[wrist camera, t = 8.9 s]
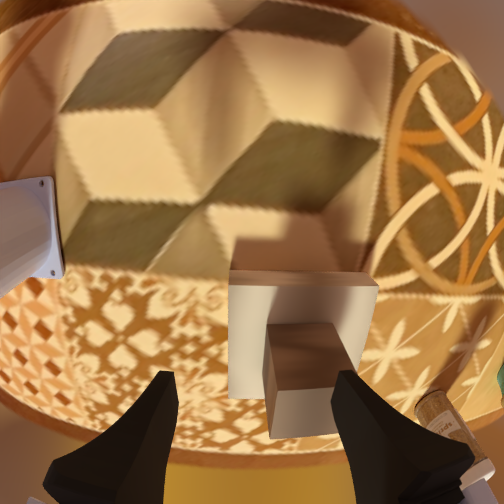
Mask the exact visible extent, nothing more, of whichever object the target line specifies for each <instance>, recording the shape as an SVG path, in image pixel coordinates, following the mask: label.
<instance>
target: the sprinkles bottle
mask: <svg viewBox="0 0 504 504" xmlns="http://www.w3.org/2000/svg"><path fill="white" fill-rule="evenodd" d="M414 415H415V417H416V418H418V420H419V422H420V423H421V425H422V427H424V428H426V429H428V430H430V431H432V432H434V433H437V434H439V435H442V436H444V437H447V438H449V439H453V440H456V441H460V442H463V443H467V444H468V445H469V447H470V449H471V450H472V452H473V454H474V455H475V461H474V463H473V464H472V466H471V467H470V468H469V469H468V470H467V471H466V472H465V473H464V474H463V475H462V476H461V477H460V480H461V482H462V485H461V486H459V487H460V489H461V491H462V490H463V489H464V488H466V487H468V486H469V485H471V484H473V483H475V482H477V481H478V480H480V479H482V478H485V480H486V481H487V480H488V479H489V478H490V477H491V476H492V475H493V474H494V472H495V468H494V466H493V464H492V462H491V461H490V459H488V457H487V456H485V454H484V452H483V451H482V449H481V448H480V446H479V444H478V443H477V441H476V438H475V437H474V435H473V434H472V432H471V430H470V429H469V427H468V426H467V424H466V423H465V421H464V420H463V418H462V417H461V415H460V414H459V413H458V411H457V410H456V409H455V408H454V407H453V405H452V404H451V402H450V401H449V399H448V398H447V396H446V393H445V392H444V391H440V390H438V391H435V392H433V393H431V394H429V395H428V396H426V397H425V398H423V399H422V400H421V401H420V402H419V403H418V405H417V406H416V408H415V411H414Z"/></svg>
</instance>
